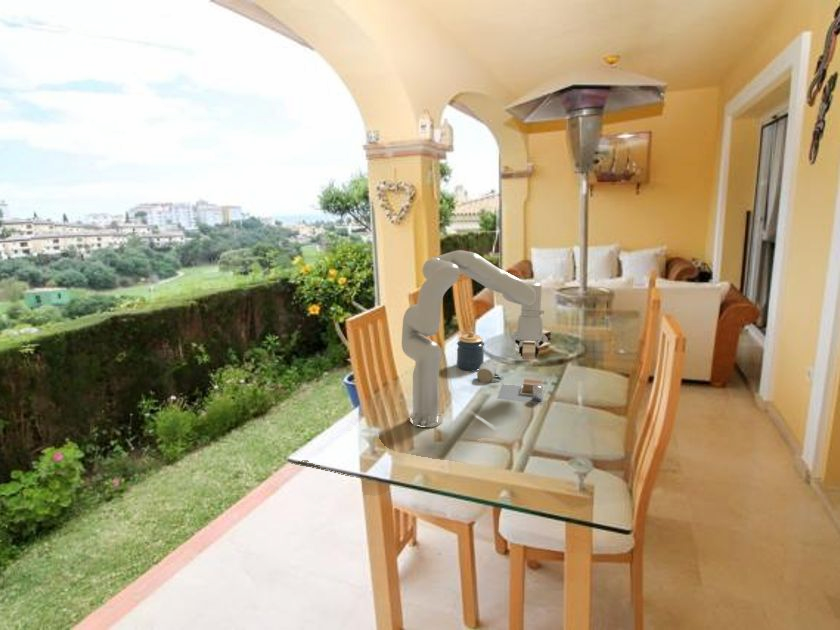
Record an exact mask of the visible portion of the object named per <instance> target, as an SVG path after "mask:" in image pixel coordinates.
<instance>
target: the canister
mask: <svg viewBox="0 0 840 630" xmlns="http://www.w3.org/2000/svg"><path fill="white" fill-rule="evenodd" d="M483 340H484V338H483V337H482V336H480V335H478V334H475V333H474V332H473V331H469V332H468V333H466V334H463V335H462V336H460V337H459V338H458V341H457V343H456V344H457V349H456V351H457V353H456V354H457V355H456V356H457V358H456V359H457V360H456V365H457V368H458V369H460V370H463V371H466V372H467V371H468V372H473V371H472V370H477V369H479V367H480V365H481V364H482V363H484V356H485V355H484V354H485V353H484V352H485V349H484V346H485V342H484V341H483ZM477 371H478V370H477Z"/></svg>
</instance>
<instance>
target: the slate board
mask: <svg viewBox="0 0 840 630" xmlns="http://www.w3.org/2000/svg"><path fill="white" fill-rule="evenodd" d="M544 396H545V393H544V394H543V396H542V401H541V402H534V401H533V400H532V394H529V393H523V386H522V387H521V386H515V385H509V386H508V385H504V384H503V385H502V384H501V386H500V389H499V392H498V394H497V397H496V398H497V399H498V400H508V401H516V402H523V403H525V402H526V403H533V404H540V405H541V404H544V403H543V402H544Z"/></svg>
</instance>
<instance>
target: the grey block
mask: <svg viewBox="0 0 840 630" xmlns="http://www.w3.org/2000/svg"><path fill="white" fill-rule="evenodd" d="M543 386H544V385H543V384H541V385H540V384H535V385H533V392H532V400H533V401H534V402H541V401H542V396H543Z"/></svg>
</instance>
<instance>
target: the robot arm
mask: <svg viewBox="0 0 840 630" xmlns="http://www.w3.org/2000/svg"><path fill="white" fill-rule="evenodd" d="M421 271H422V274H423V275H422V276H423V277H424V278H425V279H426V280H425V281H424V282H423V283H422V285H421V286H420V288H419V291H418V294H417V295H418V296H417V304H412V305H411V306H409V307H408V308H407V309H406V310H405V312H404V315H403V317H402V328H401V329H402V332H401V350H402V351H403V353H404V355H405V356H407V357H409V358H410V359H412V360H413V361H414V363H415V365H414V368H413V371H412V413H410V414H409V416H410V418H412V420H413V425H412V426H414V427H417V425H420V426H425V427H430V428H434V427H437V426H440V425H441V424H442V423H443V420H444V419H443V415H442V414H441V413H440V412H439V410H440V409H439V406H440V405H439V404H440V402H439V400H440V399H439V397H440V396H439V395H440V394H439V391H440V389H439V387H440V386H439V385H440V382H439V381H440V380H439V376H440V367H441V366H440V365H441V361H442V354H443V353H442V350H441V346H440V345H439V344H438V343H437V342H436V341H434V340H432V339H430V338H429V337H432V336H436V334H438V332H439V331H440V327H441V318H442V317H441V316H442V314H441V313H442V304H443V298H444V295H445V294H446V292H447V291H448V290H449V289H450V288H451V287H452V286H454V284H456V283H457V282H458V280H459V278H460V276H461V274H462V275H465V276H466V277H469V278H470V279H472V280H474V281H475V282H477V283H479V284H480V285H482V286H483V287H485V288H486V289H489V290H491V291H494V292H496V293H500V294H501V295H502V297H503V299H504V300H506V301H508V302H510V303H514V304H516V305H520V307H521V309H520V314H519V316H518V319H517V326H516V331H515V332H513V334H512V336H511V337H510V340H512V341H514V342H515V344H516V345H517V346H518V347H519V349H518V354H520V357H522V352H523V345H522V344H523V341H532V342H535V345H536V347H535V358H537V357H538V356H537V355H539V351H540V350H539V349H540V347H542V345H544V344H545V343H546V342H548V341H549V339H548V337H547V336H546V334H545V333H544V331H543V327H544V326H543V316H542V314H543V315H544V314H545V310H543V309H542V308H541V306H542V291H543V290H542V288H543V286H542V284H541V283H539V282H536V281H526V282H524V281H523V280H521V279H520V278H518V277H516V276H515V275H512V274H510V273H508V272H507V271H505V270H502V269H501V268H499V267H498V266H496V265H494V264H493V263H491V262H490V261H489V260H487V259H485V258H484V257H483V256H481V255H480V254H478V253H475V252H474V251H467V250H462V249H459V250H453V251H450V252H447V253H443V254H441V255H440V254H439V255H437V256H434V257H431V258H429V259H428V260H426V261H425V262H424V264H423V265H422V270H421Z"/></svg>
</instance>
